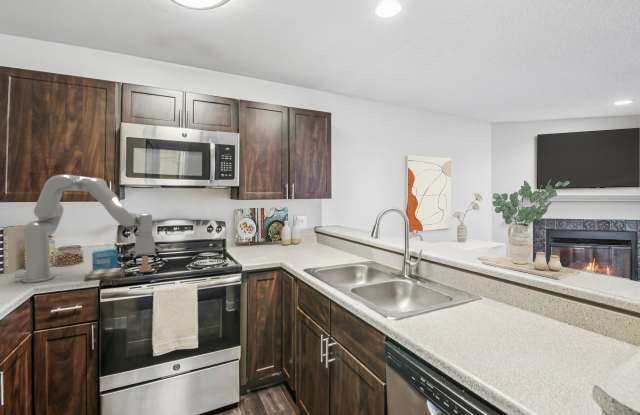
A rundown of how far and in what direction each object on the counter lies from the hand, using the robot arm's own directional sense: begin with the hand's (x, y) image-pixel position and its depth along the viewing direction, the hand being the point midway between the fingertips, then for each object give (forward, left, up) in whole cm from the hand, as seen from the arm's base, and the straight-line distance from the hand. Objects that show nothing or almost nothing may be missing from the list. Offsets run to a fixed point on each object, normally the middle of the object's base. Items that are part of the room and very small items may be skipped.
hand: (145, 263), depth 183 cm
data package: (-20, +19, -6) cm, 28 cm away
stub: (0, 0, -4) cm, 4 cm away
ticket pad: (-19, 0, -6) cm, 20 cm away
